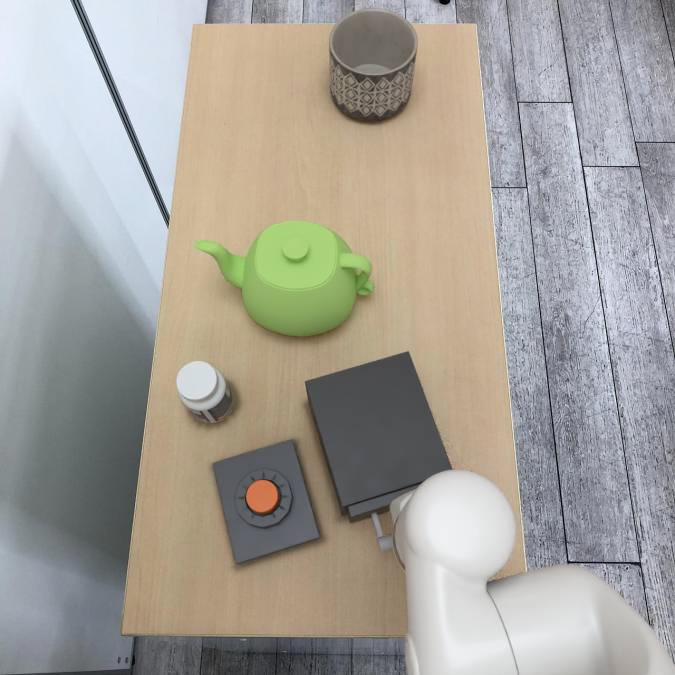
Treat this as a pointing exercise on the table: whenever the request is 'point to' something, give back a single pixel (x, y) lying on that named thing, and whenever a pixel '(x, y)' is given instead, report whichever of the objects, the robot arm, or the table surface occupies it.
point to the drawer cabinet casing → (375, 429)
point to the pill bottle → (205, 392)
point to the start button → (262, 496)
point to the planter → (372, 63)
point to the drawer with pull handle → (377, 513)
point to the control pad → (281, 523)
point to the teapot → (296, 277)
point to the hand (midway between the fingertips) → (415, 553)
